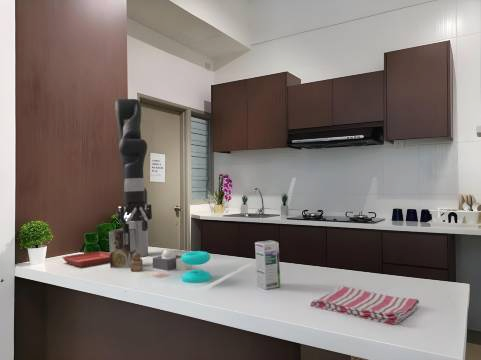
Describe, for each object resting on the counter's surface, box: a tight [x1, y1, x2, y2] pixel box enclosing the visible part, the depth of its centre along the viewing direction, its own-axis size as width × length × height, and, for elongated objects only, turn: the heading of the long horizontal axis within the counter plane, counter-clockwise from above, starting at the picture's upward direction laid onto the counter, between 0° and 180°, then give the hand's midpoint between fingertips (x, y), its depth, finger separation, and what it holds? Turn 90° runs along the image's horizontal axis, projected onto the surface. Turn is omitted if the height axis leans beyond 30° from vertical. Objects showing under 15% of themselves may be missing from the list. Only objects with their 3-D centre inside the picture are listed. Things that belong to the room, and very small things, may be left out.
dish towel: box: [309, 286, 420, 326], centre depth 98 cm, size 17×23×4 cm
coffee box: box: [108, 228, 136, 269], centre depth 152 cm, size 9×6×16 cm
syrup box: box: [254, 240, 281, 290], centre depth 120 cm, size 6×6×14 cm
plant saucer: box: [61, 251, 110, 268], centre depth 167 cm, size 18×18×3 cm
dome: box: [161, 248, 177, 259], centre depth 148 cm, size 6×6×6 cm
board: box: [129, 254, 182, 279], centre depth 143 cm, size 20×22×5 cm
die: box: [175, 258, 192, 271], centre depth 144 cm, size 4×4×4 cm
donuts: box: [181, 250, 212, 284], centre depth 128 cm, size 10×10×10 cm
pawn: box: [130, 253, 144, 273], centre depth 143 cm, size 4×4×7 cm
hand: (135, 232), depth 143 cm, fingers open, 7 cm apart
